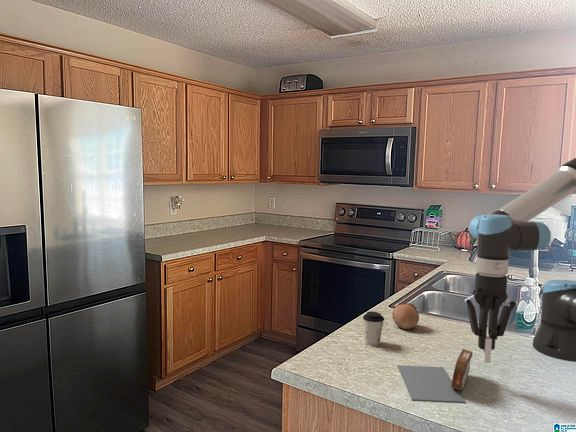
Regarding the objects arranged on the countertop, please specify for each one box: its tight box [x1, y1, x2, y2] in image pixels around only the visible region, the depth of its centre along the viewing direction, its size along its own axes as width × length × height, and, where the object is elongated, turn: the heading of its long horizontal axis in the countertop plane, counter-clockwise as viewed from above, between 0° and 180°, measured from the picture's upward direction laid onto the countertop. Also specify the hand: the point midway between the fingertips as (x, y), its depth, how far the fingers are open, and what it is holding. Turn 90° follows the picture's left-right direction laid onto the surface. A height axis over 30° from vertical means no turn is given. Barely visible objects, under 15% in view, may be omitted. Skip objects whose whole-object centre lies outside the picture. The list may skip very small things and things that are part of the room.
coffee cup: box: [362, 310, 385, 347], centre depth 142 cm, size 7×7×10 cm
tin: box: [451, 348, 474, 391], centre depth 115 cm, size 15×3×8 cm, turn 149°
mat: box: [397, 364, 466, 404], centre depth 116 cm, size 13×19×1 cm
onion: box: [392, 302, 420, 330], centre depth 157 cm, size 10×9×10 cm
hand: (485, 360), depth 114 cm, fingers closed
